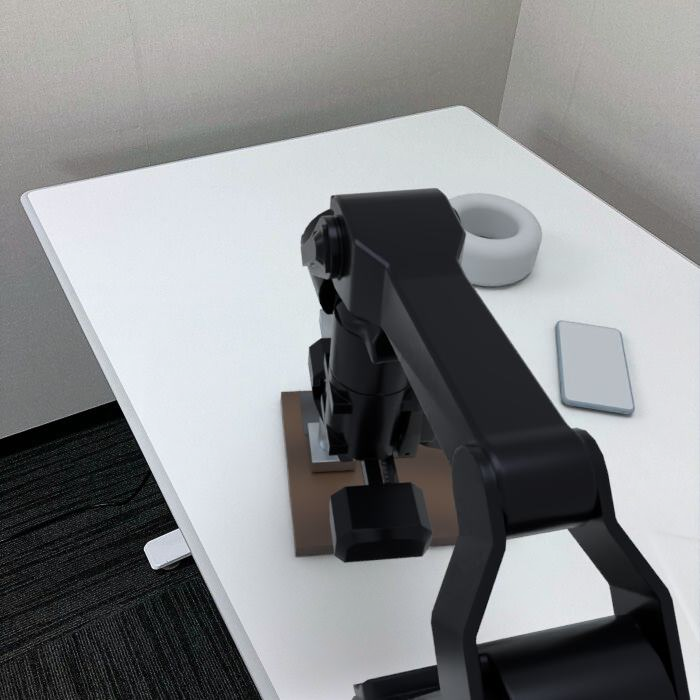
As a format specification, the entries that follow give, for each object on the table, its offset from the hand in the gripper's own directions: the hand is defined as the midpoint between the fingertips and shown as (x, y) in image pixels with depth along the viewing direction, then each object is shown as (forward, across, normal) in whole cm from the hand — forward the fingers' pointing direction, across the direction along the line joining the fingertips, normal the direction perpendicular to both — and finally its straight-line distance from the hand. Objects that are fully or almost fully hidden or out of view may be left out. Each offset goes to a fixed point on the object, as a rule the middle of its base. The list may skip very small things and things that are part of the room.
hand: (354, 506), depth 61 cm
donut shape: (+14, +50, -26) cm, 58 cm away
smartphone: (+13, +27, -34) cm, 45 cm away
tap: (+11, +18, -1) cm, 21 cm away
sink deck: (+13, +14, -6) cm, 20 cm away
